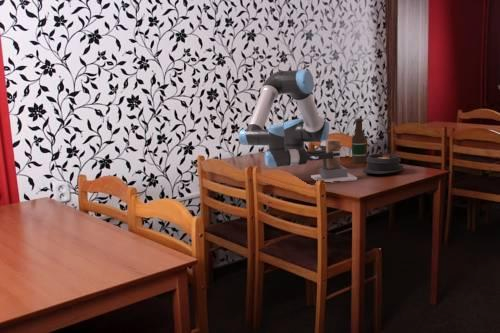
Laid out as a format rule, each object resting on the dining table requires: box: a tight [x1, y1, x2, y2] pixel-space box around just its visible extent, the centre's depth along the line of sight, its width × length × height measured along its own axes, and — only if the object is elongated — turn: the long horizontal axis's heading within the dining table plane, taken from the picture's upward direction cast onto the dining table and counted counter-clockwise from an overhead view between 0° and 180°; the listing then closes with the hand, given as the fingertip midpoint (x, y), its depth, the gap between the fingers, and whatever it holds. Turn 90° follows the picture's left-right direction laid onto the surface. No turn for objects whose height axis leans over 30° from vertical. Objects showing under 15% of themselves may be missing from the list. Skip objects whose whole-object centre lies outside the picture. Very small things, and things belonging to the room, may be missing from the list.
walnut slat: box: [326, 139, 341, 170], centre depth 261 cm, size 6×3×16 cm, turn 103°
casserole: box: [362, 153, 405, 175], centre depth 271 cm, size 25×19×8 cm
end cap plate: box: [310, 165, 358, 183], centre depth 262 cm, size 18×14×5 cm
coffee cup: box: [319, 139, 329, 167], centre depth 284 cm, size 10×10×15 cm
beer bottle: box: [351, 118, 367, 165], centre depth 297 cm, size 8×8×24 cm
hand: (343, 152), depth 262 cm, fingers closed on walnut slat, 3 cm apart
